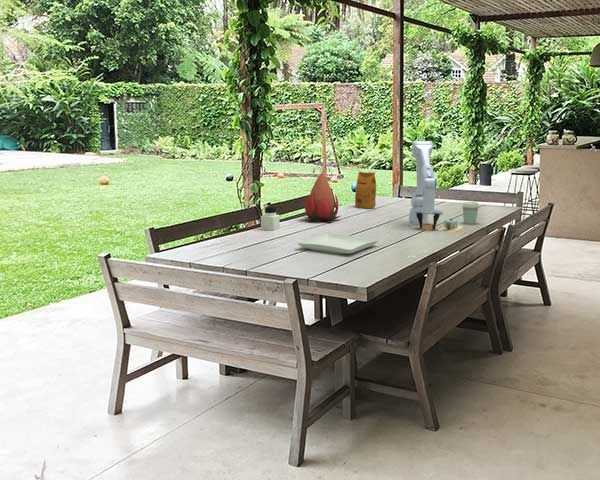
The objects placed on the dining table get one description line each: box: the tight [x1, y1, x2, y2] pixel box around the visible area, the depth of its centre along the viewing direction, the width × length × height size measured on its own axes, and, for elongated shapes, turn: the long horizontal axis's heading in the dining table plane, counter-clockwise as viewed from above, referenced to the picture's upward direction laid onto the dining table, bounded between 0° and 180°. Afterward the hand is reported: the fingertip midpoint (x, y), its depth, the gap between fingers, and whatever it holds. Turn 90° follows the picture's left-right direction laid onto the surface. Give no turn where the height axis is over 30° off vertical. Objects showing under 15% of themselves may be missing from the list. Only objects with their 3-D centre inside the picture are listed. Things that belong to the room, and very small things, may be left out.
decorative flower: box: [303, 164, 342, 223], centre depth 380 cm, size 22×23×30 cm
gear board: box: [435, 223, 464, 233], centre depth 354 cm, size 11×18×4 cm, turn 159°
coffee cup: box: [462, 201, 480, 226], centre depth 367 cm, size 9×9×12 cm
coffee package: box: [354, 171, 377, 210], centre depth 426 cm, size 10×12×22 cm
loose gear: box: [421, 222, 435, 231], centre depth 351 cm, size 6×6×4 cm
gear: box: [443, 217, 458, 229], centre depth 356 cm, size 6×6×4 cm
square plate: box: [297, 233, 379, 255], centre depth 311 cm, size 27×27×4 cm
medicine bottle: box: [260, 204, 281, 232], centre depth 354 cm, size 7×7×12 cm
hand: (427, 228), depth 351 cm, fingers closed on loose gear, 6 cm apart
